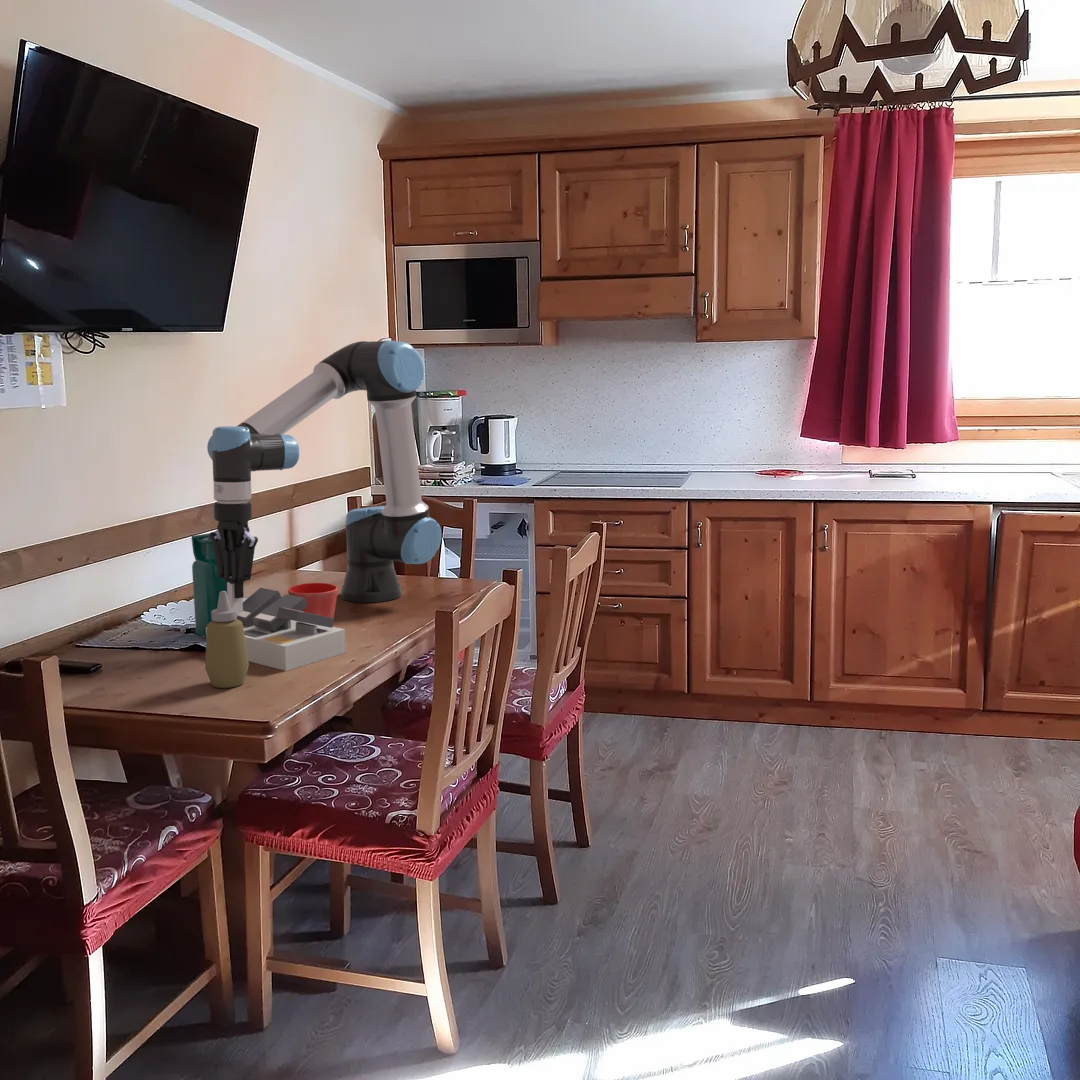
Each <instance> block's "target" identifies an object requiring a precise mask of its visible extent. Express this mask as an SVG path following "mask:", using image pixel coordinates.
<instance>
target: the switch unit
mask: <svg viewBox="0 0 1080 1080" xmlns="http://www.w3.org/2000/svg"><path fill="white" fill-rule="evenodd" d="M243 630H244V636H245V642H246V649H247V655H248V661H249V662H250V663H254V664H258V665H260V666H261V665H262V666H264V667H265V666H266V667H269V668H273V669H278V670H279V671H284V672H287V671H291V670H294V669H297V668H301V667H304V666H308V665H310V664H314V663H316V662H317V663H318V662H319V661H323V660H326V659H330V658H332V657H336V656H339V655H342V654H346V651H347V650H346V649H347V647H346V629H345V628H340V627H335V626H333V627H332V628H330V627H325V626H319V625H314V624H309V623H303V622H298V621H293V620H288V621H287V622H285V623H284V624H282V625H281V626H280V627H278V628H277V629H276V630H274V631H272V630H268V629H263V628H259V627H255V626H254V623H253V624H252V625H251V626H250V627H249V626H245V625H243ZM206 638H207V627H206V637H205V639H206Z"/></svg>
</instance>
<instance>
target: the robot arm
mask: <svg viewBox="0 0 1080 1080" xmlns="http://www.w3.org/2000/svg"><path fill="white" fill-rule="evenodd" d="M424 376H425V367H424V362H423V359H422V357H421V354H420V353H419V352H418V350H417V349H415V348H414V347H413V346H412V345H411V344H410V343H407V342H405V341H396V340H374V341H372V340H371V341H366V340H365V341H361V340H360V341H356V342H351V343H350V344H348V345H345V346H343V347H342V348H340V349H338V350H336V351H334V352H333V353H332V354H330V355H328V356H326V358H324V359H322V360H321V361H319V362H318V363H317V364H315V366H314V368H313V372H311V373H310V374H309V375H307V376H306V377H305V378H303V379H302V380H300V381H299V382H298V383H296V384H294V385H293V386H291V387H290V388H288V389H287V390H286V391H285V392H283V393H282V394H280V395H279V396H278V397H276V398H275V399H273V400H272V401H270V402H269V403H268V404H266V405H264V406H263V407H262V408H261V409H259V410H258V411H256V412H255V413H253V414H252V415H250V416H249V417H247V418H246V419H245V420H243V421H242V422H240V423H239V424H238V425H235V426H216V427H214V429H213V430H212V435H211V436H210V438H209V439H208V442H207V445H206V447H207V449H206V450H207V454H208V455H209V457H210V459H211V460H212V478H213V479H212V480H213V499H214V500H215V501H216V502H214V503H213V519H214V520H215V521H217V522H218V523H217V526H216V528H217V529H216V530H215V531H212V532H210V538H211V540H212V542H213V547H214V552H215V558H216V563H217V569H218V575H219V577H220V578H223V579H224V581H225V582H226V592H227V596H228V599H229V603H230V606H231V608H234V609H236V610H237V613H241V612H243V602H244V600H243V599H244V595H245V594H244V582H247V581H250V580H251V578H252V571H253V570H252V569H253V563H254V558H255V550H256V546H257V543H258V541H259V538H258V536H253V535H252V534H251V533H250V531H251V530H250V527H249V523H248V522H249V521H250V520H251V519H252V503H251V499H252V472H258V471H259V472H260V471H283V470H289V469H292V468H294V467H295V466H296V465H297V464H298V462H299V459H300V446H299V444H298V442H297V440H296V438H295V437H293V436H292V435H290V434H285V433H287V432H289V431H290V430H291V429H293V428H294V427H296V426H297V425H298V424H299V423H301V422H303V420H305V419H307V418H308V417H310V415H312V414H313V413H315V412H316V411H317V410H318V409H320V408H321V407H322V406H324V405H326V404H327V403H328V402H330V401H332V400H333V399H334V400H339V399H341V398H343V397H344V396H346V395H347V394H349V393H352V392H356V391H366V399H367V402H368V403H369V404H370V405H372V407H374V411H375V418H376V419H375V420H376V427H377V434H378V435H377V436H378V443H379V444H378V445H379V453H380V460H381V467H382V468H381V469H382V478H383V485H384V494H385V495H384V496H385V501H386V502H385V503H386V504H385V505H379V506H376V505H375V506H368V507H361V508H354V509H350V510H349V511H348V512H347V513H346V517H345V520H346V521H345V537H346V557H347V558H346V559H347V560H346V561H347V569H346V572H345V576H344V579H343V580H344V581H343V584H342V586H341V592H340V593H341V598H342V599H343V600H345V601H349V602H356V603H378V602H380V603H381V602H387V601H391V600H395V599H398V598H400V597H401V596H402V586H401V584H400V583H399V579H398V576H397V573H396V569H395V566H394V562H399V563H404V564H407V565H413V564H415V565H421V564H423V565H424V564H426V563H427V562H429V561H430V560H431V559H432V558H434V556H435V555H436V554H437V551H438V550H439V548H440V547H441V546H440V545H441V541H442V529H441V526H440V524H439V523H438V522H437V521H436V520H435V519H434V518H432V517H431V516H430V509H429V508H430V507H429V505H428V504H427V503H425V502H424V501H423V500H422V491H421V490H422V489H421V482H420V475H419V465H418V464H419V463H418V458H417V457H418V455H417V448H416V447H417V446H416V438H415V437H416V435H415V429H414V421H413V420H414V418H413V412H412V403H413V402H414V400H416V398H417V389H419V388H420V386H421V385H422V383H423V382H422V380H423V379H424V378H425V377H424ZM223 571H224V572H223Z"/></svg>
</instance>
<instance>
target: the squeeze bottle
mask: <svg viewBox="0 0 1080 1080" xmlns="http://www.w3.org/2000/svg"><path fill="white" fill-rule="evenodd" d="M211 615H212V620H213V621H211V622H210V623H209V624H207V638H206V637H205V639H206V640H205V641H206V643H205V659H204V660H205V662H204V664H205V665H204V670H205V671H206V674H207V677H208V678H209V681H210V683H211V685H212V686H213V687H215V688H220V689H221V688H222V689H226V688H227V689H228V688H235V687H238V686H240V685H243V684H244V683H245V680H246V676H247V672H248V670H249V665H250V663H249V662H250V661H248V655H247V649H246V642H245V636H244V630H243V623H242V622H241V621H240V620H238V619H237V610H236V609H234V608H231V606H230V603H229V599H228V596H227V592H226V591H220V594H219V600H218V606H217V609H215V610H213V611H211Z"/></svg>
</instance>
